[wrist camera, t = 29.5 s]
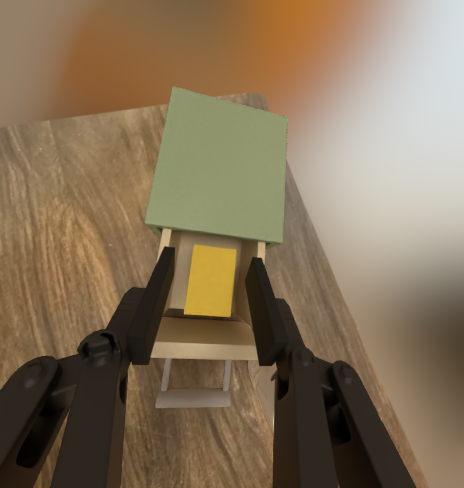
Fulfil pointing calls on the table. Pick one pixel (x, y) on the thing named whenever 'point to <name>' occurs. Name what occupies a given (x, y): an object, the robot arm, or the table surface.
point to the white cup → (264, 388)
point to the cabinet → (220, 170)
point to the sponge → (210, 281)
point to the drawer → (204, 321)
